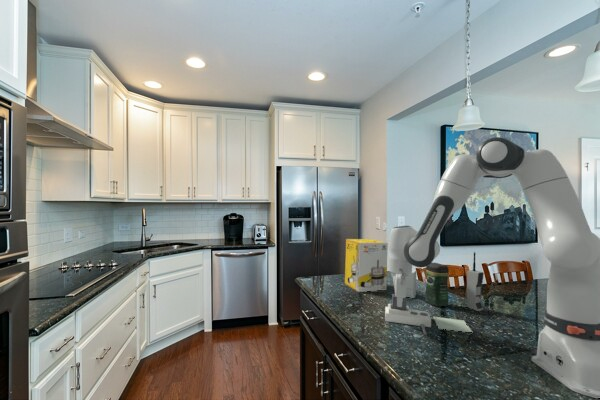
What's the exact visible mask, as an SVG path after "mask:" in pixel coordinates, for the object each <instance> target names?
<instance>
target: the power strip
mask: <svg viewBox="0 0 600 400" xmlns="http://www.w3.org/2000/svg"><path fill="white" fill-rule="evenodd" d="M384 308H385V309H384V310H385V311H384V321H385V322H390V323H396V324H397V323H398V324H404V325H411V326H418V327H421V329H422V330H421V331H422V332H423V335H424V336H426V337H427V336H428V333H427V331H426V330H427V329H426V327H427V328H432V318H431V316H430V313H429V312H428V311H425V310H417V309H410V306H409V305H406V311H405V310H397V309H392V303H388V304H387V306H385V307H384Z"/></svg>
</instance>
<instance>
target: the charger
mask: <svg viewBox="0 0 600 400" xmlns="http://www.w3.org/2000/svg"><path fill="white" fill-rule="evenodd" d="M391 295H392V297H391V304H392V309H397V310H405V311H406V306H407V298H406V297H405V298H403V301H402V307H398V306H397V297H396V296H395V293H392V294H391Z"/></svg>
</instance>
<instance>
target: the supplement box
mask: <svg viewBox="0 0 600 400" xmlns="http://www.w3.org/2000/svg"><path fill="white" fill-rule="evenodd" d="M415 295H416V296H417V270H416V269H412V273H410V274H408V277H406V297H410V298H409V299H412V298H414V299H415V298H416V296H415Z"/></svg>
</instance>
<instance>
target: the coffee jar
mask: <svg viewBox="0 0 600 400" xmlns="http://www.w3.org/2000/svg"><path fill="white" fill-rule="evenodd" d="M425 271H426V272H425V273H426V282H425V283H426V285H425V286H426V288H425V296H424V297H425V298H424V300H425V302H426V301H427V304H430V305H432V306H434V305H435V307H441V306H445V307H448V305H449V294H448V293H449V291H448V279H449V276H450V275H449V274H450V272H449V271H450V268H449V266H447V265H446V264H441V263H438V262H432V263H431V264H430V265H428V266H426V267H425Z"/></svg>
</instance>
